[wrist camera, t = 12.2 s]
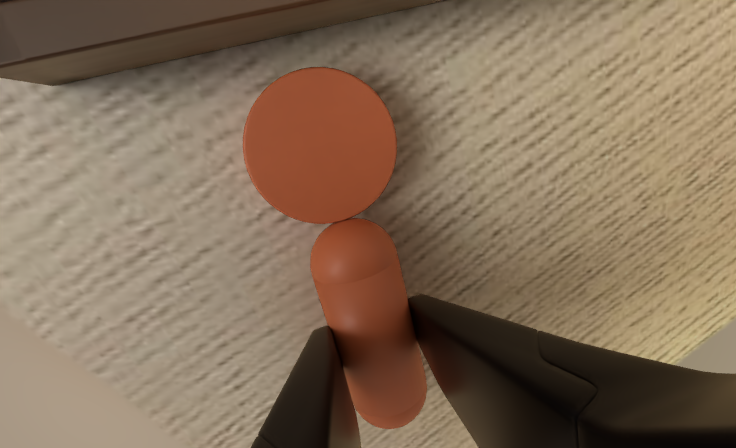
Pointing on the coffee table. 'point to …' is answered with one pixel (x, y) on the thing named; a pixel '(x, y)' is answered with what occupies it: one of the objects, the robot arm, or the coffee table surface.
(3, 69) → the cutlery tray
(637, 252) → the coffee table surface
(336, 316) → the terracotta spoon
